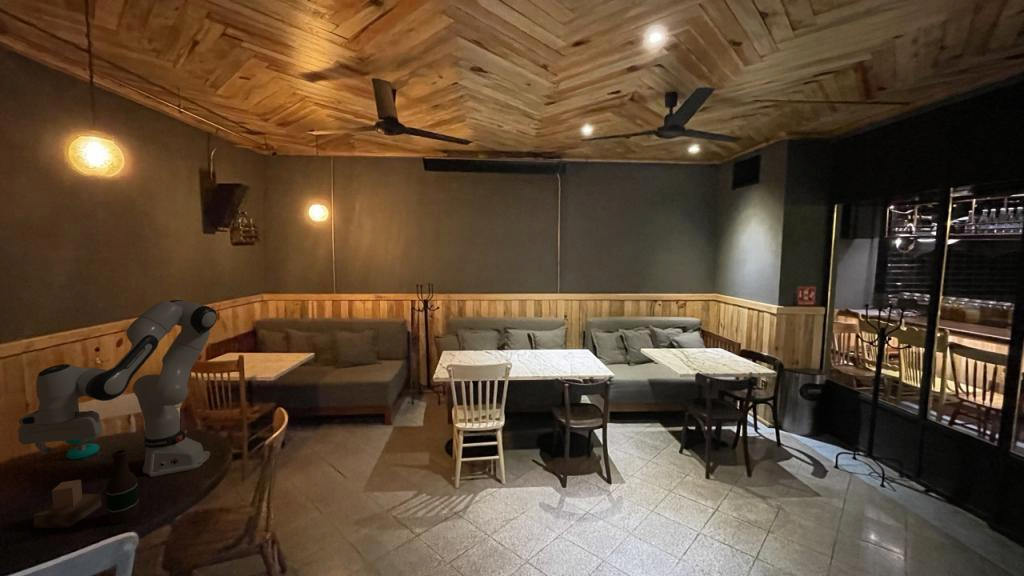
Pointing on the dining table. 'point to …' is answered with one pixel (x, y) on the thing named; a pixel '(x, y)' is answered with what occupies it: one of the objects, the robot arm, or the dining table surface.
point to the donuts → (87, 452)
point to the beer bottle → (122, 491)
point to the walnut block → (67, 513)
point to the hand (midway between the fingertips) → (64, 451)
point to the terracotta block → (67, 494)
